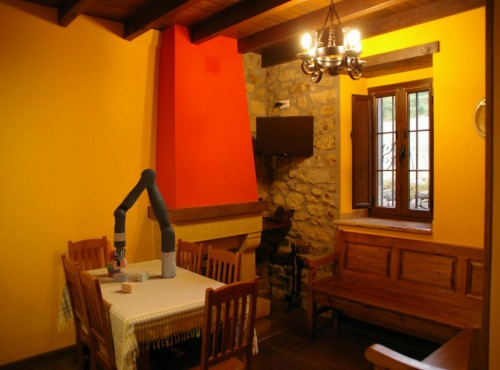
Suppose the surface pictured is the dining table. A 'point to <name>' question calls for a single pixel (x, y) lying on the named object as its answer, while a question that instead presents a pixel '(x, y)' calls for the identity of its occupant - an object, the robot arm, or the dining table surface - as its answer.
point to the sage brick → (143, 276)
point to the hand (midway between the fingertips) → (119, 265)
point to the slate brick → (120, 277)
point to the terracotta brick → (122, 264)
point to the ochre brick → (128, 287)
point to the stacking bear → (110, 265)
